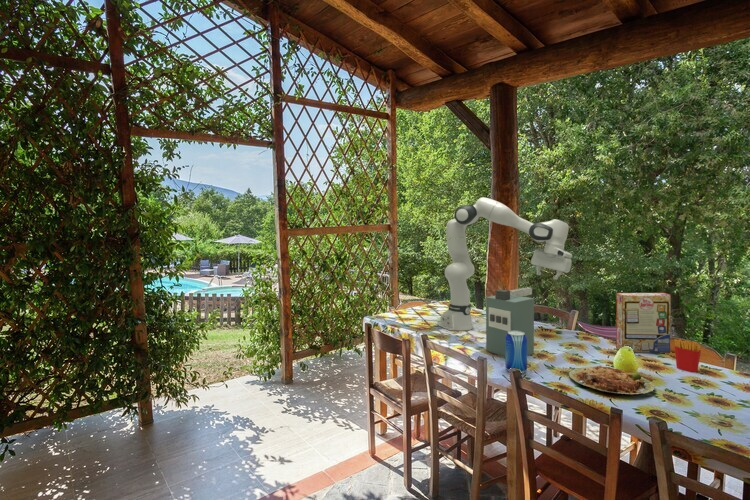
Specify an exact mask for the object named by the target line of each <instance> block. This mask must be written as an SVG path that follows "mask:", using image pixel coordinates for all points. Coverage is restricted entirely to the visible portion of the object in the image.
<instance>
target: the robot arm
mask: <svg viewBox="0 0 750 500" xmlns="http://www.w3.org/2000/svg"><path fill="white" fill-rule="evenodd" d="M480 218H484V219H486V220H488V221H490V222H493V223H495V224H498V225H503V226H507V227H511V228H514V229H516V230H519V231H521V232H523V233H525V234H527V235H529V236H530V238H531V239H532V240H533V241H534V242H536V243H538V244H544V243H545V246H544V248H540V247H538V248H535V249H534V252H533V255H532V257H531V259H530V263H531V265H534V266H536V267H535V269H536V275H537V276H541V275H542V271H541V268H546V269H550V270H554V271H556V274H555V275H553V277H552V279H553V280H556V281H558V279H559V277H560V276H561V275H562V273H566V274H568V273H569V272H570V271H571V268H572V263H573V262H572V258H573V254H572V253H570V252H568V251H566V250H565V243H566V241H567V239H568V235H569V227H570V226H569V224H568V222H566V221H564V220H561V219H558V218H553V219H551V220H549V221H548V220H547V221H542V222H536V223H534V222H531V221H528V220H527V219H525V218H523V217H520V216H519V215H517V214H516V213H515V212H514V211H513V210H512V209H511V208H510V207H508V206H507V205H505V204H504V203H502V202H500V201H497V200H495V199H492V198H490V197H483V196H482V197H480V198H478V199H477V200H476V201H475V203H474V204H463V205H460V206H459V207H457V208H456V209H455V211H454V218H453V219H450V220H448V221H447V223H446V227H445V228H446V229H445V234H446V246H447V252H448V254H449V255H450V257H451V261H452V262H451V263H450V264H449V265H447V266H446V267H445V269H444V276H445V278H446V280H447V281H448V284H449V290H450V293H449V294H450V303H447V307H448V309H447V310H445V311H444V312H443V313H442V314H441V315H440V320H439V321H437V322H436V324H437V325H436V326H438V325H439V326H438V327H440V328H443V329H445V330H448V331H463V332H464V331H470V330H473V329H474V327H473V322H472V315H471V310H472V309H471V308H472V305H471V290H470V289H469V287H468V284H467V279H469V278H471V277H472V276H473V275H474V273H475V270H476V269H475V266H474V264H473V263H472V260H471V257H470V254H469V249H468V245H467V243H468V241H467V236H466V228H468V227H470V226H472V225H474V224H476V223H478V222H479V220H480Z"/></svg>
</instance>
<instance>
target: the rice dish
mask: <svg viewBox="0 0 750 500" xmlns="http://www.w3.org/2000/svg"><path fill="white" fill-rule="evenodd" d="M568 376H569V378H571V379H572V380H573V381H575V382H576V383H578V384H580V385H583V386H586V387H589V388H590V389H594V390H597V391H601V392H604V393H605V392H606V393H610V394H622V395H623V394H625V395H640V394H641V395H642V394H644V395H645V394H648V393H651V392H653V391H654V390H655V389H656V388H655V384H654V383H653V382H652V381H650V379H649V380H648V379H647V378H645V377H643V376H641V374H640V373H637V372H629V371H625V370H622V369H621V368H613V367H609V366H602V365H597V366H588V367H578V368H577V367H576V368H574V369H571V370H568ZM581 381H582V382H581ZM642 390H643V391H642Z"/></svg>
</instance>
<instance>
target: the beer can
mask: <svg viewBox="0 0 750 500" xmlns="http://www.w3.org/2000/svg"><path fill="white" fill-rule="evenodd" d="M504 358H505V359H504V361H505V363H504V364H505V366H504V367H505V369H506V370H507V372H509V369H510V368H518V369H520V370H521V372H522V374H521V375H523V374H525V373H526V372H527V370H528V356H527V338H526V336H525V333H524V332H521V331H509V332H508V334H507V336H506V337H505V357H504Z"/></svg>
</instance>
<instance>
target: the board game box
mask: <svg viewBox="0 0 750 500" xmlns="http://www.w3.org/2000/svg"><path fill="white" fill-rule="evenodd" d="M671 301H672V295H671V294H670V293H669V294H668V293H666V292H617V293H616V303H615V304H616V308H615V309H616V310H615V311H616V316H615V317H616V323H615V324H616V325H615V326H616V329H615V331H616V334H615V336H616V337H615V339H616V340H615V342H616V343H615V348H616V350H618V349H620V348H622V347H624V346H629V347H631V348H632V349H633V351H634V352H633V353H644V354H645V353H650V354H653V353H654V354H671V321H672V320H671V316H672V315H671V313H672V312H671V311H672V310H671V309H672V306H671V304H672V302H671Z"/></svg>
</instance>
